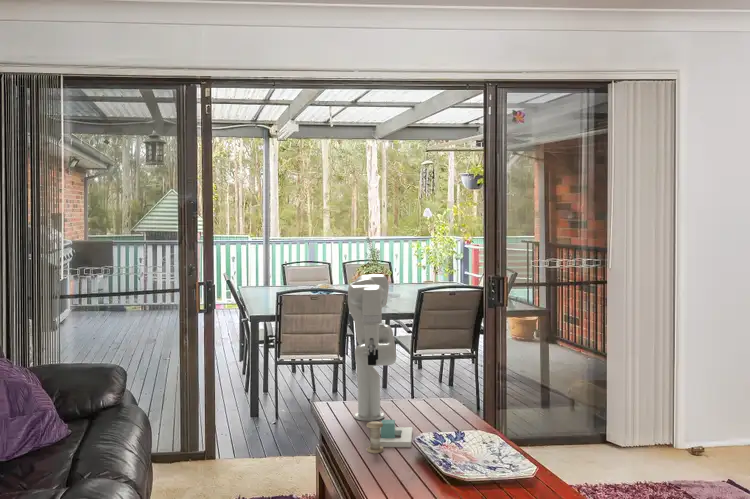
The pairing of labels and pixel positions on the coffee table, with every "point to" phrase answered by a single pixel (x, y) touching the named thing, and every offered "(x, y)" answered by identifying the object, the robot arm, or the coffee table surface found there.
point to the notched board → (398, 442)
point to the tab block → (388, 429)
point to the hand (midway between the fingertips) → (373, 362)
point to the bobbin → (375, 437)
